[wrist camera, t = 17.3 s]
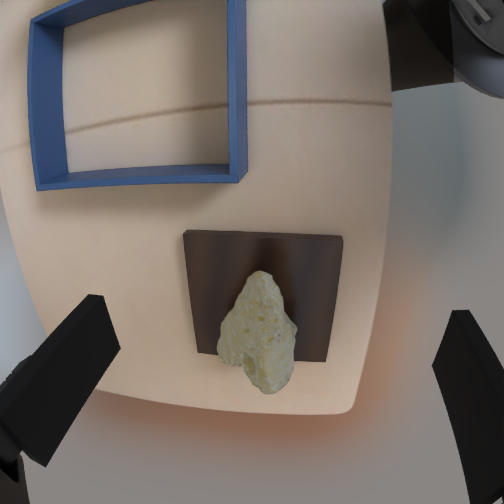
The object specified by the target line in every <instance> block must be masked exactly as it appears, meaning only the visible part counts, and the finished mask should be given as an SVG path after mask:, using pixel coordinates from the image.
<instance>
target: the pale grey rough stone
mask: <svg viewBox="0 0 504 504" xmlns="http://www.w3.org/2000/svg"><path fill="white" fill-rule="evenodd" d="M272 278H273V276H272V275H270V274H268V273H266V272H263V271H256V272H254V273H253V274H252V275H251V276H249V277H248V278H247V282H246V284H245V285H244V288H243V290H242V292H241V293H240V294H239V296H238V298H237V300H236V301H235V306H234V308H232V309H231V311H229V312H228V314H227V316H226V317H225V319H224V321H222V322H221V328H220V330H221V336H220V338H219V340H218V344H217V352H218V354H219V357H220V359H221V360H222V361H223V362H224V363H226V364H228V365H229V366H238V367H239V366H243V370H244V372H245V373H246V375H247V376H248V378H249V379H250V381H251V382H252V384H253V385H254V386H255V387H258V388H259V389H260V390H261V392H263V393H264V394H274V393H276V392H278V391H279V390H281V389H282V388H283V387H284V386H285V385H286V384H287V382H288V381H289V379H290V377H291V374H292V371H293V368H294V353H293V352H294V346H295V342H296V340H295V334H296V332H297V327H296V325H295V324H294V323H293V322H292V321H291V320H290V319H289V317H288V316H287V314H286V313H285V311H284V303H283V296H281V293H280V289H279V287H278V286H277V285H276V283H275V282H274V281H273V279H272Z"/></svg>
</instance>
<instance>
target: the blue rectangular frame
mask: <svg viewBox="0 0 504 504" xmlns="http://www.w3.org/2000/svg"><path fill="white" fill-rule="evenodd" d="M147 1H151V0H71V1H68V2H66V3H64V4H62V5H59V6H57V7H55V8H53V9H51V10H49V11H46V12H44V13H42V14H40V15H38V16H36V17H34V18H33V19H31V22H30V31H29V45H28V70H27V93H28V119H29V133H30V144H31V154H32V162H33V170H34V177H35V184H36V190H37V191H45V190H57V189H69V188H83V187H98V186H116V185H139V184H173V183H239V182H240V180H241V179H242V178H243V177H244V175H245V174H246V173H247V172H248V143H247V56H246V0H227V61H228V127H229V164H205V165H171V166H150V167H133V168H119V169H106V170H95V171H84V172H75V173H68V166H67V157H66V147H65V136H64V122H63V103H62V47H63V29H64V28H65V27H67V26H70V25H72V24H75V23H77V22H80V21H83V20H86V19H89V18H91V17H94V16H97V15H100V14H103V13H107V12H110V11H113V10H117V9H120V8H124V7H127V6H131V5H135V4H139V3H143V2H147Z"/></svg>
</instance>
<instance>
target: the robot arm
mask: <svg viewBox="0 0 504 504" xmlns="http://www.w3.org/2000/svg"><path fill="white" fill-rule="evenodd" d="M448 1H449V3H450V5H451V7H452V9H453V11H454V13H455V14H456V16H457V18H458V19H459V21H460V22H461V23H462V25H463V26H464V27H465V29H466V30H467V31H468V32H469V33H470V34H471V35H472V36H473V37H474V38H475V39H476V40H477V41H478V42H479V43H480V44H482V45H483V46H484V47H486V48H487V49H489V50H491V51H492V52H494V53H497V54H499V55H502V56H504V0H448ZM120 349H121V348H120V345H119V342H118V339H117V336H116V334H115V331H114V328H113V325H112V322H111V319H110V316H109V313H108V309H107V306H106V303H105V300H104V296H101V295H92V294H88V295H87V296H86V297H85V298H84V299H83V300H82V302H81V303H80V304H79V305H78V306H77V307H76V308H75V309H74V310H73V311H72V312H71V313H70V314H69V315H68V316H67V317H66V318H65V319H64V320H63V321H62V323H61V324H60V325H59V326H58V327H57V328H56V329H55V330H54V331H53V332H52V333H51V334H50V336H49V337H48V338H47V339H46V340H45V341H44V342H43V343H42V344H41V345H40V347H39V348H38V349H37V350H36V351H35V352H34V353H33V355H32V356H31V355H30V356H29V357H27V358H26V359H24V360H23V361H21V362H20V363H19V364H18V365H17V366H16V367H15V369H14V370H13V371H12V374H9V376H8V377H7V378H6V381H4V382H3V383H2V384H1V385H0V504H30V502H29V497H28V491H27V485H26V480H25V472H24V464H23V459H22V456H21V455H20V452H21V451H22V450H23V451H24V452H25V454H26V455H27V456H28V457H29V458H30V459H32V460H33V461H35V462H37V463H39V464H41V465H42V466H44V467H46V466H47V464H48V463H49V461H50V459H51V458H52V456H53V454H54V452H55V451H56V449H57V448H58V446H59V444H60V443H61V441H62V439H63V438H64V436H65V434H66V433H67V431H68V429H69V428H70V426H71V424H72V423H73V421H74V420H75V418H76V416H77V415H78V413H79V412H80V410H81V408H82V407H83V405H84V404H85V402H86V401H87V399H88V397H89V396H90V394H91V393H92V391H93V390H94V388H95V387H96V385H97V384H98V382H99V380H100V379H101V377H102V376H103V374H104V373H105V371H106V370H107V368H108V367H109V365H110V364H111V362H112V361H113V359H114V358H115V356H116V355H117V353H118V352H119V350H120ZM432 367H433V370H434V373H435V376H436V379H437V382H438V384H439V388H440V390H441V393H442V396H443V400H444V403H445V406H446V409H447V412H448V415H449V419H450V422H451V425H452V429H453V432H454V436H455V439H456V443H457V447H458V451H459V455H460V459H461V463H462V467H463V471H464V475H465V481H466V485H467V490H468V495H469V500H470V504H493V503H494V502H495V501H497V500H498V499H499V498H500V497H502V500H503V503H502V504H504V369H503V367H502V365H501V363H500V361H499V360H498V358H497V356H496V354H495V352H494V351H493V349H492V347H491V345H490V344H489V342H488V340H487V338H486V337H485V335H484V333H483V332H482V330H481V328H480V327H479V325H478V324H477V322H476V320H475V319H474V317H473V315H472V314H471V312H470V311H469V310H452V313H451V316H450V319H449V322H448V325H447V327H446V330H445V333H444V336H443V339H442V341H441V344H440V347H439V349H438V352H437V354H436V357H435V359H434V362H433V364H432Z"/></svg>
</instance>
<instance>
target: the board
mask: <svg viewBox="0 0 504 504" xmlns="http://www.w3.org/2000/svg"><path fill="white" fill-rule="evenodd" d="M183 239H184V249H185V259H186V268H187V277H188V285H189V293H190V301H191V309H192V316H193V324H194V331H195V338H196V344H197V351H198V353H204V354H213V355H219V354H218V352H217V344H218V340H219V338H220V336H221V330H220V328H221V322H222V321H224V319H225V317H226V316H227V314H228V312H229V311H231V309H232V308H234V306H235V301H236V300H237V298H238V296H239V294H240V293H241V292H242V290H243V288H244V285H245V284H246V282H247V278H248V277H249V276H251V275H252V274H253V273H254V272H256V271H263V272H266V273H268V274H270V275H272V276H273V278H272V279H273V281H274V282H275V283H276V285H277V286H278V287H279V289H280V293H281V296H283V303H284V311H285V313H286V314H287V316H288V317H289V319H290V320H291V321H292V322H293V323H294V324H295V325H296V327H297V332H296V334H295V340H296V342H295V346H294V352H293V353H294V361H307V362H326V358H327V352H328V347H329V341H330V335H331V329H332V323H333V317H334V310H335V304H336V297H337V290H338V283H339V275H340V267H341V259H342V250H343V238H342V236H332V235H312V234H289V233H265V232H239V231H209V230H186V232H185V233H184V234H183Z"/></svg>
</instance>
